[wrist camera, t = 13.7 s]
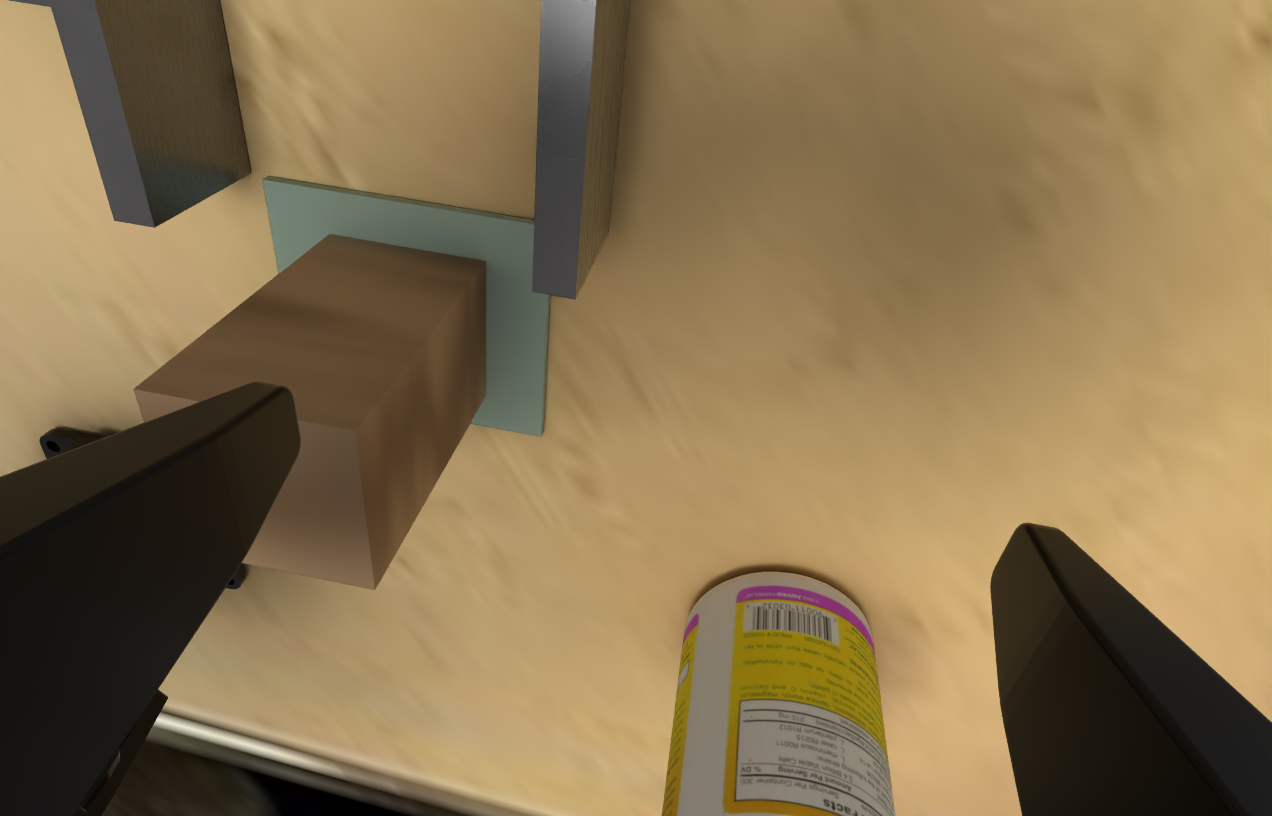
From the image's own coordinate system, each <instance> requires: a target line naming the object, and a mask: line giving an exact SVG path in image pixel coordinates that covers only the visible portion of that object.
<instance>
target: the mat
mask: <svg viewBox="0 0 1272 816" xmlns="http://www.w3.org/2000/svg"><path fill="white" fill-rule="evenodd" d="M262 181H263V187H264V192H265V198H266V204H267V210H268V215H269V221H270V227H271V233H272V238H273V244H274V250H275V255H276V261H277V267H278V273H281V272H282V271H283V270H284V269H286V268H287V267H288V266H289V265H291V264H292V263H293V262H295V261H296V260H297V259H298V258H300V257H301V256H302V255H303V254H305V253H306V252H307V251H308V250H310V249H311V248H312V247H313V246H315V245H316V244H317V243H318V242H320V241H321V240H322V239H324V238H325V237H326V236H327V235H329V234H334V235H340V236H345V237H351V238H357V239H363V240H368V241H374V242H380V243H386V244H391V245H397V246H403V247H409V248H415V249H420V250H426V251H432V252H438V253H443V254H449V255H455V256H461V257H466V258H472V259H478V260H484V261H486V397H485V398H484V400H483V402H482V404H481V405H480V407H479V409H478V411H477V412H476V414H475V416H474V418H473V419H472V421H471V423H470V424H474V425H480V426H485V427H491V428H496V429H502V430H507V431H513V432H518V433H523V434H529V435H534V436H540V437H541V436H542V434H543V431H544V412H545V391H546V370H547V349H548V328H549V307H550V295H546V294H540V293H535V292H532V276H533V246H534V220H531V219H525V218H519V217H513V216H507V215H501V214H495V213H489V212H483V211H477V210H471V209H465V208H459V207H452V206H446V205H440V204H434V203H428V202H422V201H416V200H410V199H404V198H398V197H392V196H386V195H380V194H373V193H367V192H361V191H355V190H349V189H343V188H337V187H331V186H325V185H319V184H313V183H307V182H301V181H294V180H288V179H282V178H276V177H270V176H268V177H266V178H264V179H263V180H262Z"/></svg>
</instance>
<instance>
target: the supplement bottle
mask: <svg viewBox="0 0 1272 816" xmlns="http://www.w3.org/2000/svg"><path fill="white" fill-rule="evenodd" d="M662 816H895V809H894V801H893V793H892V785H891V777H890V768H889V763H888V755H887V747H886V739H885V730H884V723H883V715H882V707H881V698H880V690H879V684H878V675H877V666H876V659H875V651H874V645H873V639H872V634H871V630H870V627H869V625H868V623H867V620H866V618H865V617H864V615H863V613H862V612H861V610H860V609H859V608H858V607H857V606H856V605H855V604H854V603H853V602H852V601H851V600H850V599H849V598H847V597H846V596H845V595H844V594H842V593H841V592H839V591H838V590H836V589H835V588H833V587H831V586H829V585H828V584H826V583H823V582H821V581H818V580H816V579H813V578H810V577H807V576H803V575H799V574H794V573H786V572H757V573H751V574H746V575H742V576H738V577H735V578H732V579H730V580H727V581H725V582H723V583H721V584H719V585H717V586H715V587H714V588H712V589H711V590H709V591H708V592H707V593H705V594H704V595H703V596H702V597H701V598H700V599H699V600H698V602H697V603H696V604H695V606H694V607H693V609H692V610H691V612H690V614H689V617H688V619H687V623H686V627H685V632H684V639H683V646H682V654H681V662H680V670H679V679H678V686H677V693H676V702H675V712H674V719H673V728H672V736H671V745H670V753H669V761H668V769H667V778H666V786H665V794H664V803H663V810H662Z"/></svg>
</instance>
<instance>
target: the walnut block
mask: <svg viewBox="0 0 1272 816" xmlns="http://www.w3.org/2000/svg"><path fill="white" fill-rule="evenodd" d="M256 381H260V382H266V383H272V384H277V385H283V386H286V387H287V388H289V389H290V391H291V392H292V394H293V397H294V402H295V408H296V413H297V419H298V424H299V430H300V435H301V446H300V451H299V454H298V457H297V459H296V461H295V463H294V465H293V467H292V469H291V471H290V473H289V475H288V477H287V479H286V481H285V483H284V485H283V487H282V489H281V490H280V492H279V494H278V496H277V498H276V500H275V502H274V504H273V506H272V508H271V510H270V512H269V514H268V516H267V518H266V520H265V522H264V524H263V526H262V527H261V529H260V531H259V533H258V535H257V537H256V539H255V541H254V543H253V545H252V546H251V548H250V550H249V552H248V554H247V555H246V557H245V558H244V560H243V562H242V563H244V564H249V565H254V566H259V567H264V568H269V569H274V570H279V571H284V572H289V573H293V574H298V575H303V576H308V577H313V578H318V579H323V580H328V581H333V582H338V583H343V584H348V585H352V586H357V587H362V588H367V589H372V590H375V589H376V587H377V585H378V584H379V582H380V580H381V578H382V577H383V575H384V573H385V571H386V570H387V568H388V566H389V564H390V563H391V561H392V559H393V557H394V556H395V554H396V552H397V550H398V549H399V547H400V545H401V543H402V542H403V540H404V538H405V536H406V535H407V533H408V531H409V529H410V528H411V526H412V524H413V522H414V521H415V519H416V517H417V515H418V514H419V512H420V510H421V509H422V507H423V505H424V503H425V502H426V500H427V498H428V496H429V495H430V493H431V491H432V489H433V488H434V486H435V484H436V482H437V481H438V479H439V477H440V475H441V474H442V472H443V470H444V468H445V467H446V465H447V463H448V461H449V460H450V458H451V456H452V454H453V453H454V451H455V449H456V447H457V446H458V444H459V442H460V440H461V439H462V437H463V435H464V433H465V432H466V430H467V428H468V426H469V425H470V423H471V421H472V419H473V418H474V416H475V414H476V412H477V411H478V409H479V407H480V405H481V404H482V402H483V400H484V398H485V397H486V261H484V260H478V259H472V258H466V257H461V256H455V255H449V254H443V253H438V252H432V251H426V250H420V249H415V248H409V247H403V246H397V245H391V244H386V243H380V242H374V241H368V240H363V239H357V238H351V237H345V236H340V235H334V234H329V235H327V236H326V237H325V238H324V239H322V240H321V241H320V242H318V243H317V244H316V245H315V246H313V247H312V248H311V249H310V250H308V251H307V252H306V253H305V254H303V255H302V256H301V257H300V258H298V259H297V260H296V261H295V262H293V263H292V264H291V265H289V266H288V267H287V268H286V269H284V270H283V271H282V272H281V273H279V274H278V275H277V276H276V277H274V278H273V279H272V280H271V281H269V282H268V283H267V284H266V285H264V286H263V287H262V288H260V289H259V290H258V291H257V292H255V293H254V294H253V295H252V296H250V297H249V298H248V299H247V300H245V301H244V302H243V303H242V304H240V305H239V306H238V307H236V308H235V309H234V310H233V311H231V312H230V313H229V314H228V315H226V316H225V317H224V318H223V319H221V320H220V321H219V322H218V323H216V324H215V325H214V326H213V327H211V328H210V329H209V330H207V331H206V332H205V333H204V334H202V335H201V336H200V337H199V338H197V339H196V340H195V341H194V342H192V343H191V344H190V345H189V346H187V347H186V348H185V349H184V350H182V351H181V352H180V353H178V354H177V355H176V356H175V357H173V358H172V359H171V360H170V361H168V362H167V363H166V364H165V365H163V366H162V367H161V368H160V369H158V370H157V371H156V372H155V373H153V374H152V375H151V376H149V377H148V378H147V379H146V380H144V381H143V382H142V383H141V384H139V385H138V386H137V387H136V388H134V392H135V395H136V398H137V401H138V404H139V407H140V411H141V414H142V417H143V420H144V423H145V422H148V421H150V420H153V419H156V418H158V417H161V416H164V415H166V414H169V413H172V412H174V411H177V410H180V409H182V408H185V407H188V406H190V405H193V404H196V403H198V402H201V401H204V400H206V399H209V398H212V397H214V396H217V395H220V394H222V393H225V392H228V391H230V390H233V389H236V388H238V387H241V386H243V385H246V384H249V383H252V382H256Z"/></svg>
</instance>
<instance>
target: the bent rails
mask: <svg viewBox="0 0 1272 816" xmlns="http://www.w3.org/2000/svg"><path fill="white" fill-rule="evenodd" d="M10 1H16V2H23V3H29V4H36V5H42V6H49V7H51V8H52V12H53V15H54V19H55V22H56V25H57V29H58V32H59V35H60V39H61V42H62V46H63V49H64V52H65V56H66V59H67V62H68V66H69V69H70V73H71V76H72V79H73V83H74V86H75V89H76V93H77V96H78V100H79V103H80V106H81V110H82V113H83V117H84V120H85V123H86V127H87V130H88V133H89V137H90V140H91V144H92V147H93V150H94V154H95V157H96V160H97V164H98V167H99V171H100V174H101V177H102V181H103V184H104V187H105V191H106V194H107V198H108V201H109V204H110V208H111V211H112V215H113V218H114V221H119V222H125V223H131V224H137V225H143V226H149V227H154V228H155V227H157V226H158V225H160V224H162V223H164V222H165V221H167V220H169V219H171V218H173V217H174V216H176V215H178V214H180V213H181V212H183V211H185V210H187V209H188V208H190V207H192V206H194V205H196V204H197V203H199V202H201V201H203V200H204V199H206V198H208V197H210V196H212V195H213V194H215V193H217V192H219V191H220V190H222V189H224V188H226V187H228V186H229V185H231V184H233V183H235V182H236V181H238V180H240V179H242V178H244V177H245V176H247V175H249V174H251V171H250V166H249V160H248V155H247V149H246V144H245V138H244V133H243V127H242V122H241V116H240V111H239V105H238V100H237V94H236V89H235V83H234V78H233V72H232V67H231V61H230V56H229V50H228V45H227V39H226V34H225V28H224V23H223V17H222V12H221V7H220V1H219V0H10ZM629 3H630V0H541V29H540V60H539V91H538V122H537V153H536V184H535V215H534V246H533V276H532V292H535V293H540V294H546V295H552V296H558V297H564V298H570V299H575V300H576V298H577V296H578V293H579V291H580V289H581V287H582V285H583V283H584V281H585V279H586V277H587V275H588V273H589V271H590V269H591V267H592V265H593V263H594V261H595V259H596V257H597V255H598V253H599V251H600V249H601V247H602V245H603V243H604V241H605V238H606V236H607V234H608V232H609V222H610V211H611V200H612V189H613V178H614V167H615V156H616V145H617V135H618V124H619V113H620V102H621V91H622V80H623V69H624V58H625V47H626V36H627V25H628V14H629Z"/></svg>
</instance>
